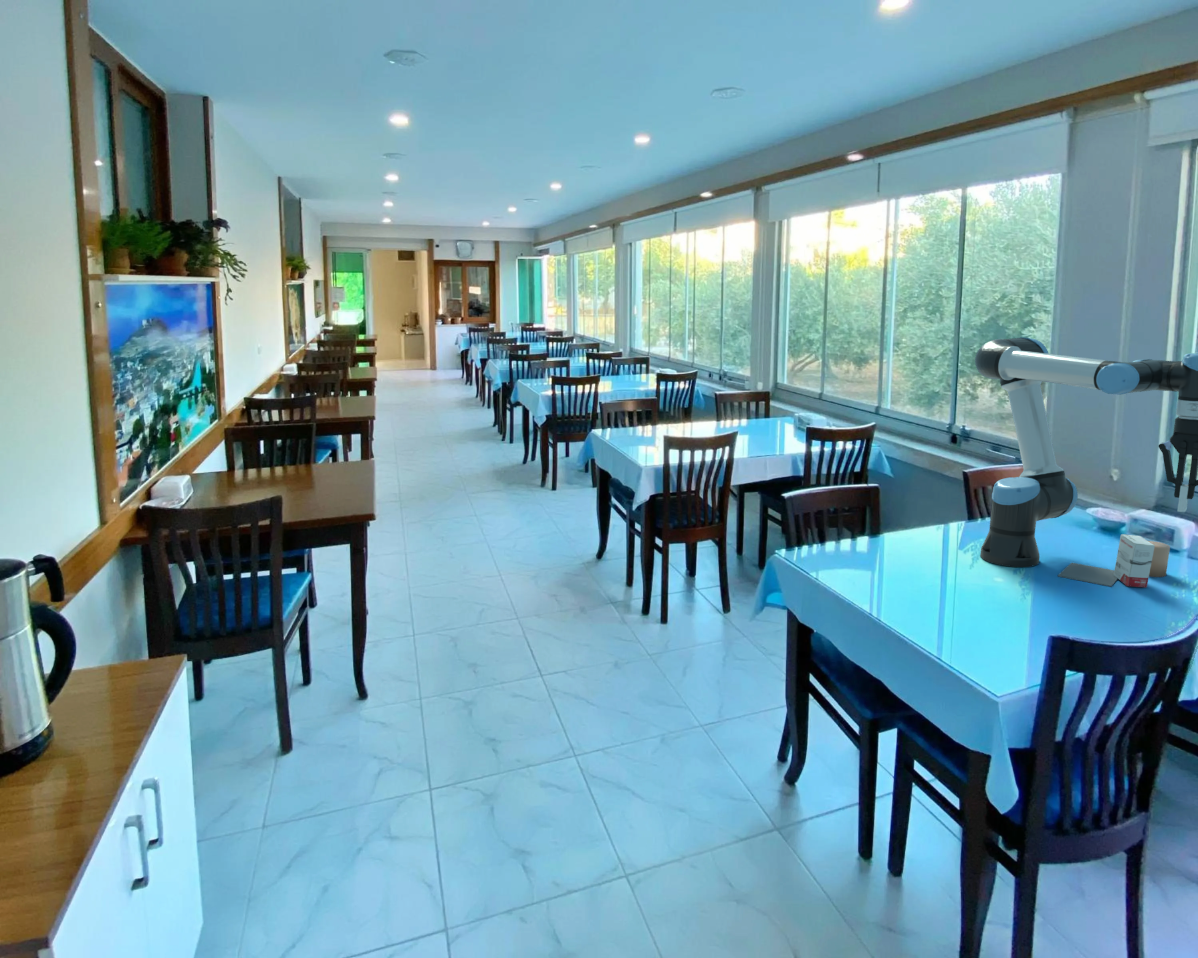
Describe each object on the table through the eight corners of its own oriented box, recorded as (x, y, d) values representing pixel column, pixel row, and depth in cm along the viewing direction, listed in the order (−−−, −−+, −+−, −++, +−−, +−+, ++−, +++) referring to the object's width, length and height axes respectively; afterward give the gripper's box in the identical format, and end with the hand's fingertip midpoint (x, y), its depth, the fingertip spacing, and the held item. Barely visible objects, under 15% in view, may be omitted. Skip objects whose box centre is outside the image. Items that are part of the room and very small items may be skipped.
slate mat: (1057, 576, 208) (1057, 575, 208) (1071, 563, 218) (1071, 562, 218) (1111, 586, 200) (1111, 585, 200) (1123, 573, 210) (1123, 571, 209)
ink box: (1148, 588, 198) (1156, 545, 195) (1127, 586, 199) (1135, 543, 196) (1132, 576, 206) (1140, 534, 203) (1112, 574, 207) (1120, 533, 204)
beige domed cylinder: (1132, 573, 209) (1135, 545, 208) (1137, 566, 214) (1141, 539, 212) (1163, 578, 205) (1167, 550, 203) (1168, 572, 209) (1172, 544, 208)
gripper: (1159, 417, 189) (1147, 509, 194) (1226, 421, 180) (1212, 518, 185) (1164, 413, 194) (1153, 504, 199) (1230, 417, 185) (1216, 511, 190)
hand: (1181, 510), depth 192 cm, fingers closed
